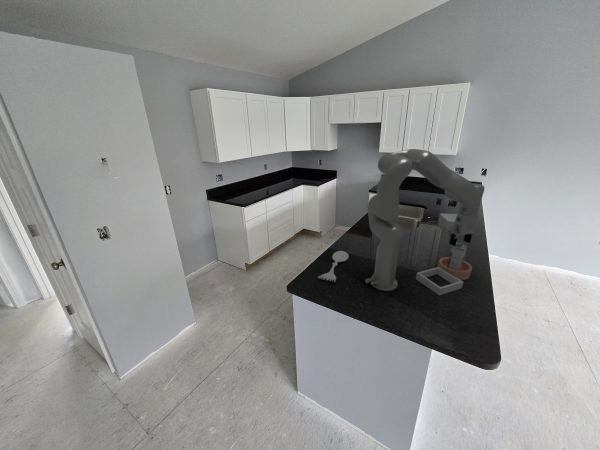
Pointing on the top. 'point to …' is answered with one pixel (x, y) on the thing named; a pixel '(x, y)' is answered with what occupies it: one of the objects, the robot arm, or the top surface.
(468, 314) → the top surface
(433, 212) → the top surface
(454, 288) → the parts tray
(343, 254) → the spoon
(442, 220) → the supplement box
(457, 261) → the syrup box
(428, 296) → the top surface
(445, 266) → the bowl
